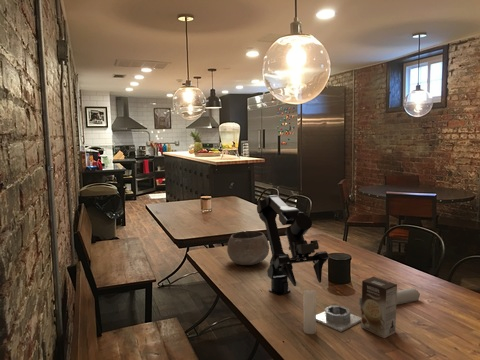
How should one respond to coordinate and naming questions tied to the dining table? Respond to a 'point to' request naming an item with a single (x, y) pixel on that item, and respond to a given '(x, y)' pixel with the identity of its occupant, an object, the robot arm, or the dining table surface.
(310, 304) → the beige cylinder
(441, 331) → the dining table surface
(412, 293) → the tube
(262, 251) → the clay pot
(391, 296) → the coffee box
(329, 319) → the square plate with nut
